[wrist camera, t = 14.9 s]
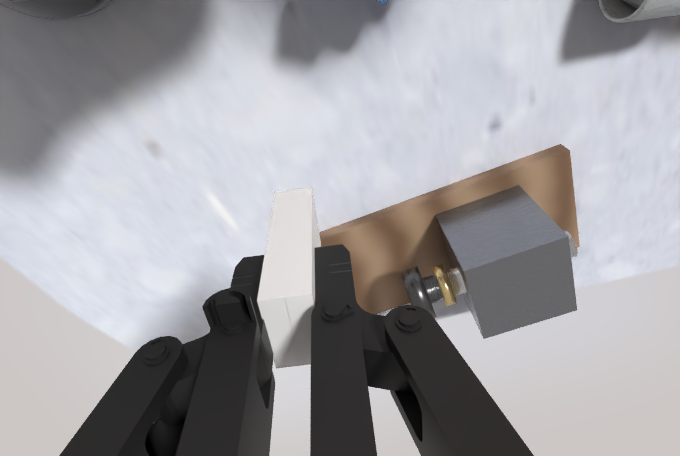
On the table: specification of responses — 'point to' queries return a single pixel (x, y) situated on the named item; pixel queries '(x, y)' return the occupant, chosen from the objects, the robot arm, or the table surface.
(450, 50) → the table surface
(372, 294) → the base plate
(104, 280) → the table surface
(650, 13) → the ceramic mug
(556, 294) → the bearing block
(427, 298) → the shaft
